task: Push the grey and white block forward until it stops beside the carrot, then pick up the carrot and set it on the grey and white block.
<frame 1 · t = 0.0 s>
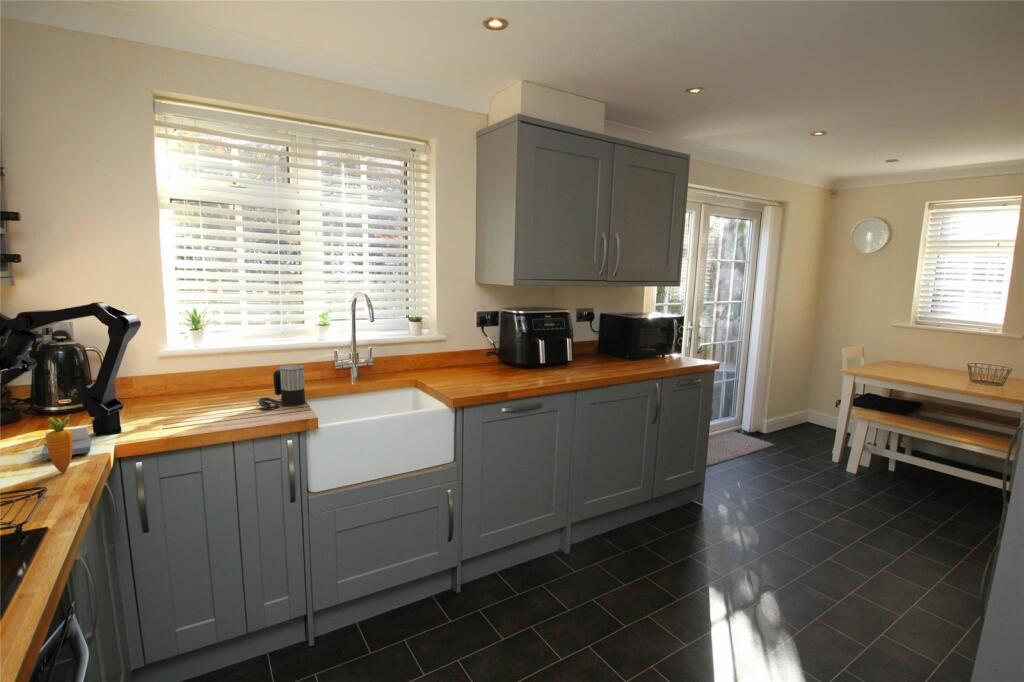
carrot: (63, 473, 128), on the counter
milk frother: (283, 405, 195), on the counter
grey and white block: (66, 443, 141), point 3 cm above the counter, slide at 0.0 cm
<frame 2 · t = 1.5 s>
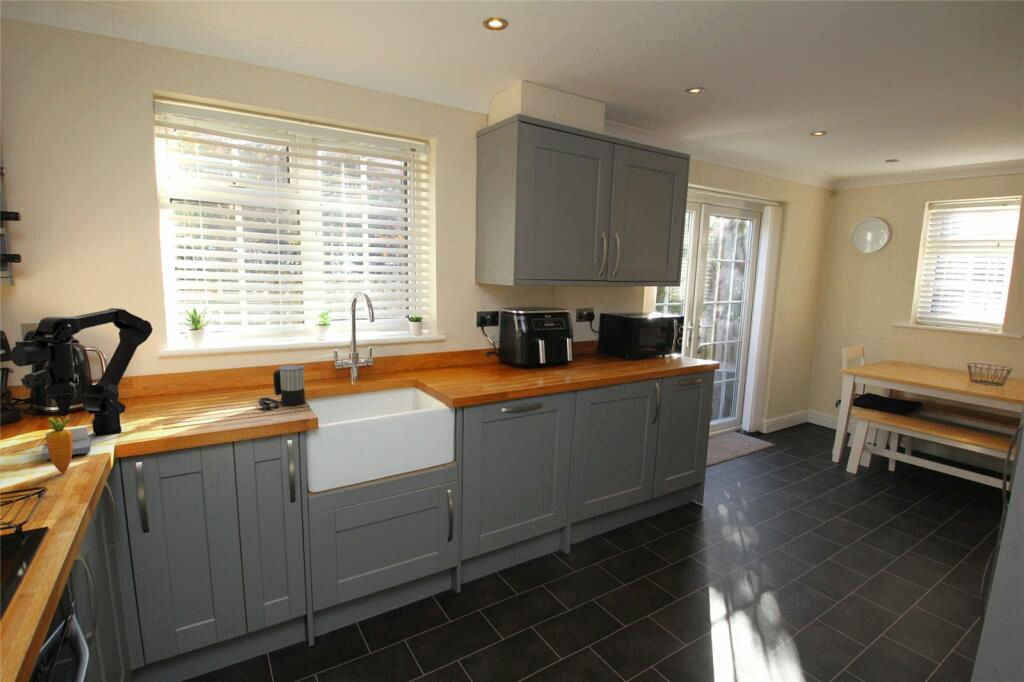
hand: (65, 412, 147), 10 cm above the counter, tool pointing down, fingers open, 8 cm apart
nothing on the counter moved.
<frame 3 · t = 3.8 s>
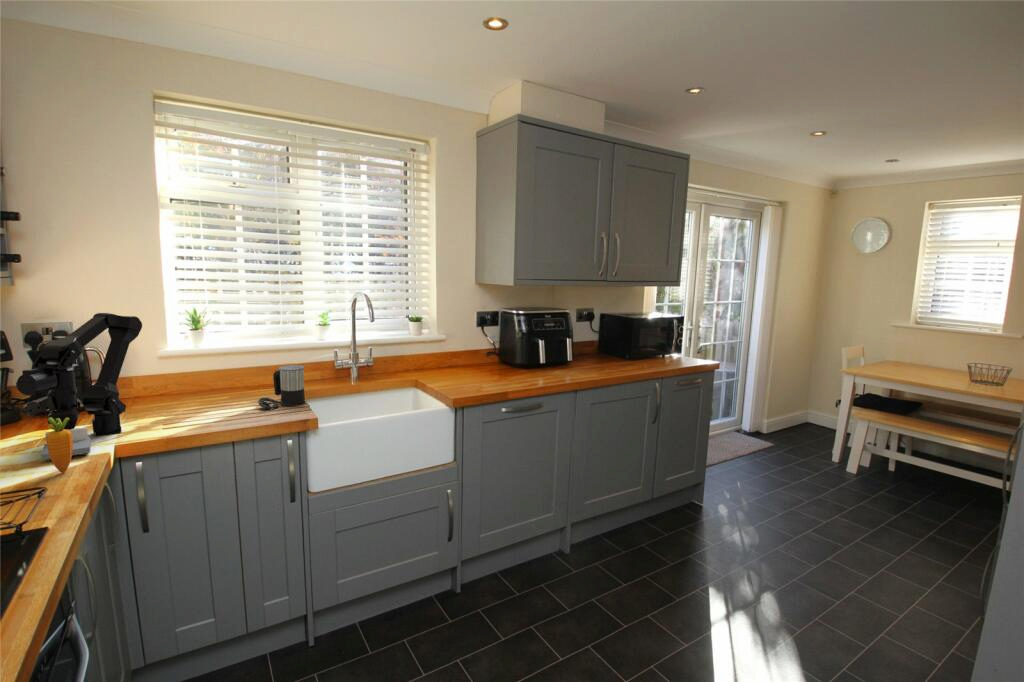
hand: (68, 438, 146), 3 cm above the counter, tool pointing down, fingers closed
grey and white block: (66, 444, 141), point 3 cm above the counter, slide at 0.6 cm, touching gripper
everything else where it was.
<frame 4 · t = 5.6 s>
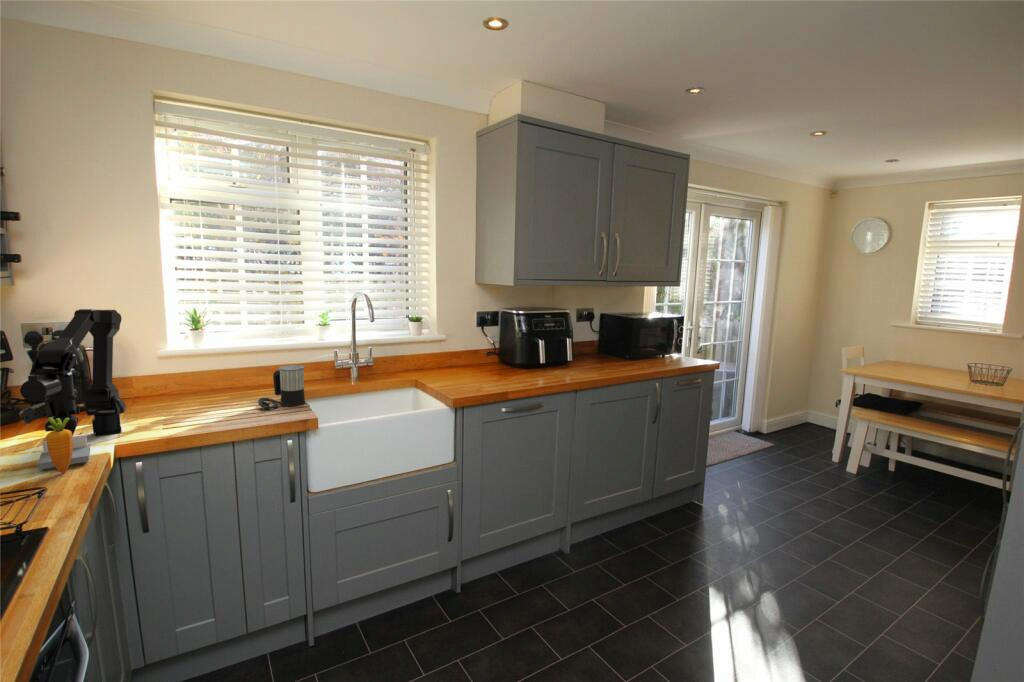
hand: (66, 446, 140), 3 cm above the counter, tool pointing down, fingers closed
grey and white block: (64, 452, 135), point 3 cm above the counter, slide at 8.5 cm, touching gripper
everything else where it was.
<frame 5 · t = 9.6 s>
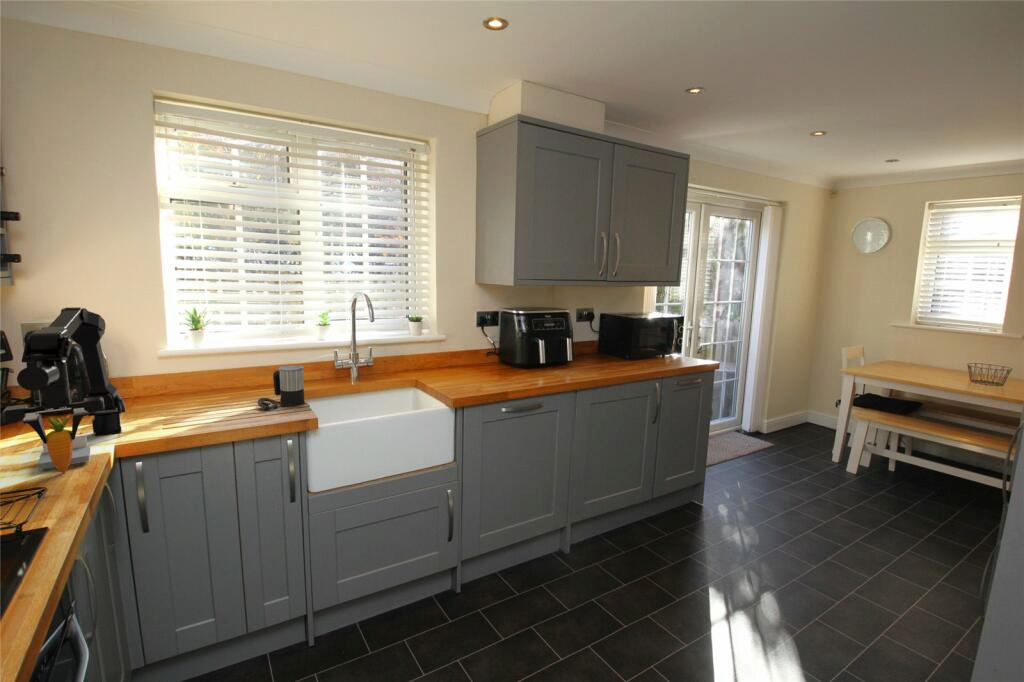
hand: (59, 441, 127), 9 cm above the counter, tool pointing down, fingers closed on carrot, 5 cm apart
carrot: (63, 473, 128), on the counter, touching gripper
grey and white block: (64, 452, 135), point 3 cm above the counter, slide at 8.5 cm
everything else where it was.
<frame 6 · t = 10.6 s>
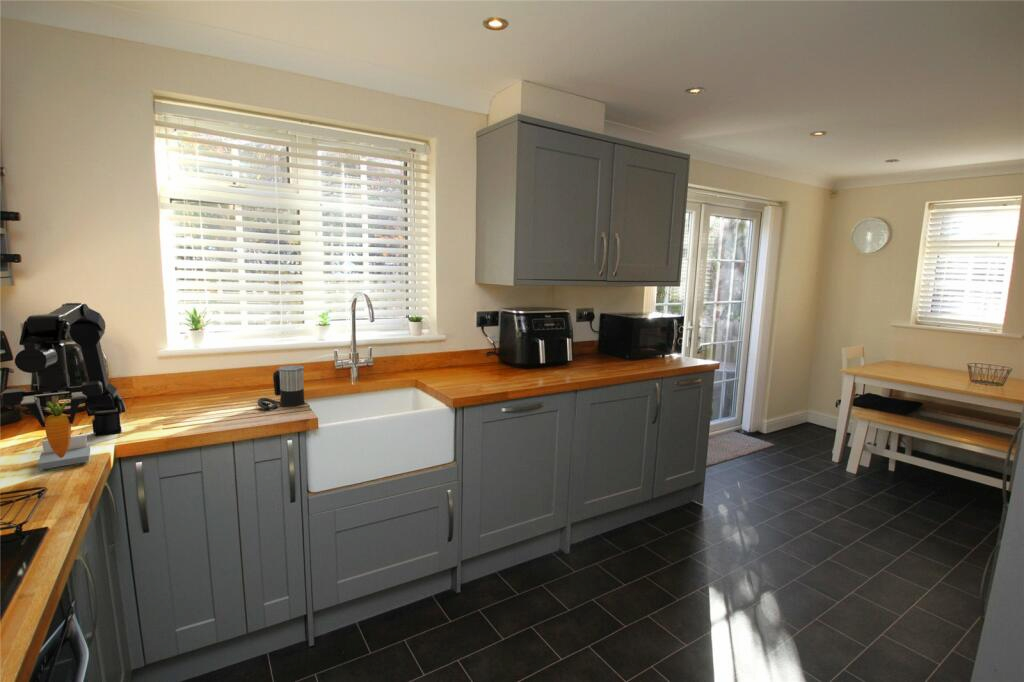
hand: (58, 425, 127), 13 cm above the counter, tool pointing down, fingers closed on carrot, 5 cm apart
carrot: (61, 458, 128), point 4 cm above the counter, touching gripper
everything else where it was.
when the fingers open (12 cm above the counter, at t = 12.1 s): carrot stays where it is, resting on grey and white block.
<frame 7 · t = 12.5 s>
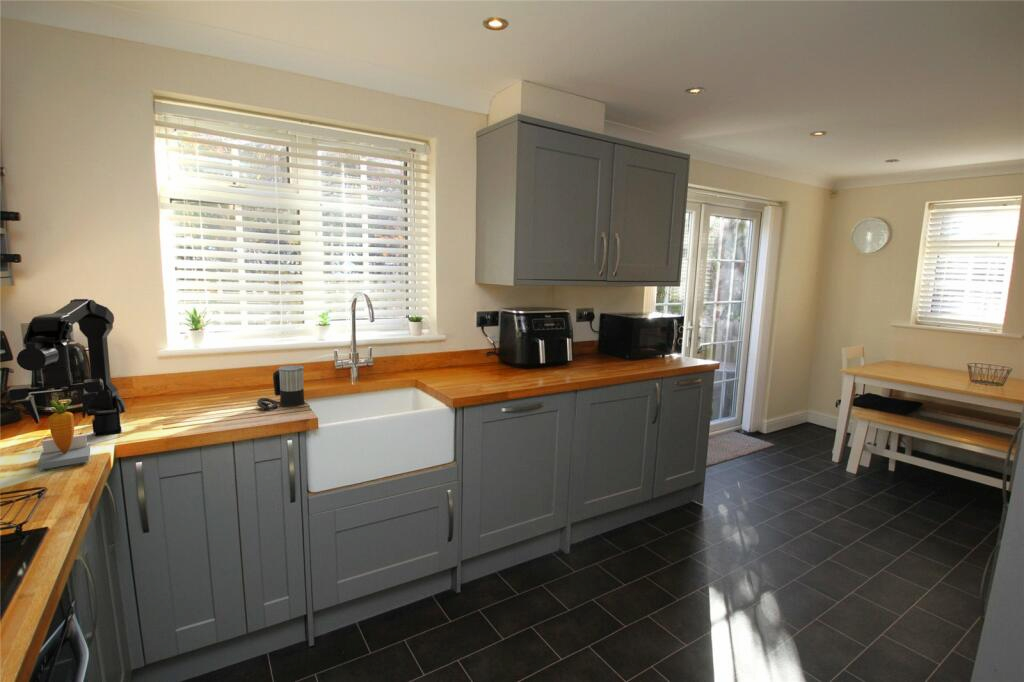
hand: (61, 420, 134), 12 cm above the counter, tool pointing down, fingers open, 9 cm apart
carrot: (65, 453, 135), point 2 cm above the counter, touching grey and white block
grey and white block: (64, 452, 135), point 3 cm above the counter, slide at 8.5 cm, touching carrot
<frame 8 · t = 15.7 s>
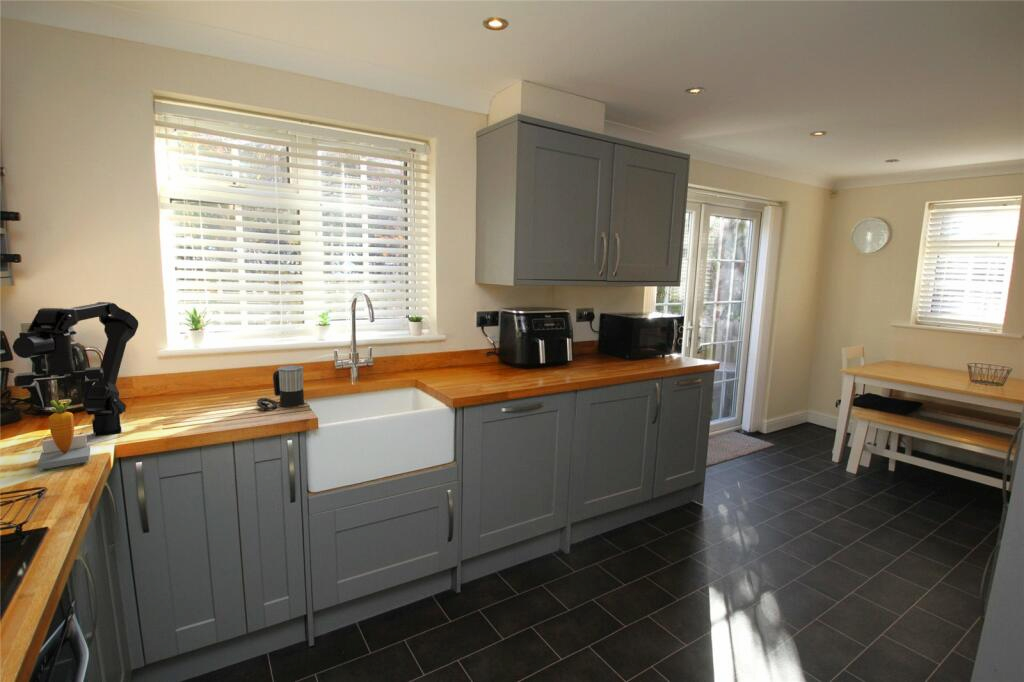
hand: (64, 405, 144), 13 cm above the counter, tool pointing down, fingers open, 9 cm apart
at the end: grey and white block slide at 8.5 cm; carrot 0.6 cm off-centre on the grey and white block, point 2.3 cm above the grey and white block's base; carrot tilted 0° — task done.
